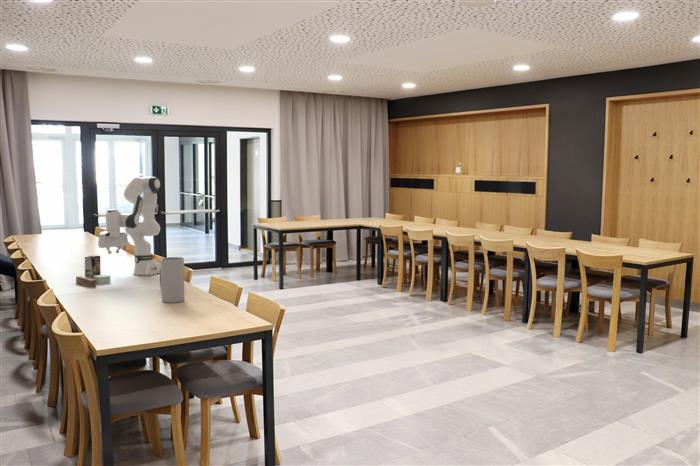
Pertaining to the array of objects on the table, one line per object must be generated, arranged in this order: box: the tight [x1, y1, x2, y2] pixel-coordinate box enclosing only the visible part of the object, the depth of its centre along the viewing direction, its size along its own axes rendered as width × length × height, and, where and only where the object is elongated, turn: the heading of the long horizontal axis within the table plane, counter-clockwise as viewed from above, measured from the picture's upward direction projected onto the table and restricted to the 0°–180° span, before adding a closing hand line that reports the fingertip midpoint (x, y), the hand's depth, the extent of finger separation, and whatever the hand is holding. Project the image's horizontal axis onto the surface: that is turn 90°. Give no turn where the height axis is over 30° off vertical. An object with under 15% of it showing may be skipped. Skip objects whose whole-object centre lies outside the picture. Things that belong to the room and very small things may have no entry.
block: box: [93, 274, 111, 285], centre depth 405 cm, size 8×8×5 cm
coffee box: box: [84, 255, 102, 279], centre depth 417 cm, size 9×6×16 cm
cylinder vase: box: [160, 256, 185, 304], centre depth 351 cm, size 12×12×25 cm
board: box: [75, 275, 97, 288], centre depth 396 cm, size 3×20×4 cm, turn 51°
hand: (113, 253), depth 410 cm, fingers open, 4 cm apart
